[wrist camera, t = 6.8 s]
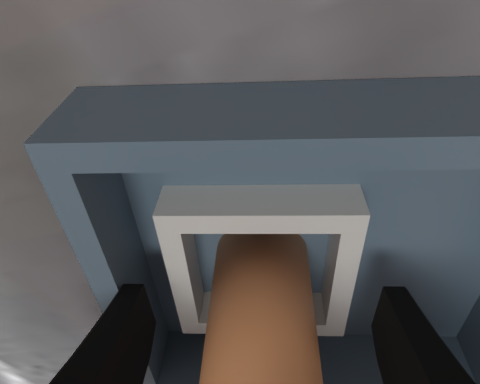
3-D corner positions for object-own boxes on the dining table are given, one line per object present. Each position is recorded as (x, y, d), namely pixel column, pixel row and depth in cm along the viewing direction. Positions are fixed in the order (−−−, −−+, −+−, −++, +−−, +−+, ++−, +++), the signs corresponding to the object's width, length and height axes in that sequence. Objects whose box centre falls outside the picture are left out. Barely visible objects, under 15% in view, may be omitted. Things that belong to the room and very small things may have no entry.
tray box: (616, 72, 9) (733, 132, 7) (463, 334, 17) (495, 405, 15) (77, 87, 10) (23, 144, 8) (157, 328, 18) (141, 394, 16)
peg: (324, 261, 13) (365, 513, 8) (252, 292, 15) (245, 526, 9) (273, 205, 12) (281, 469, 7) (198, 245, 13) (152, 492, 8)
